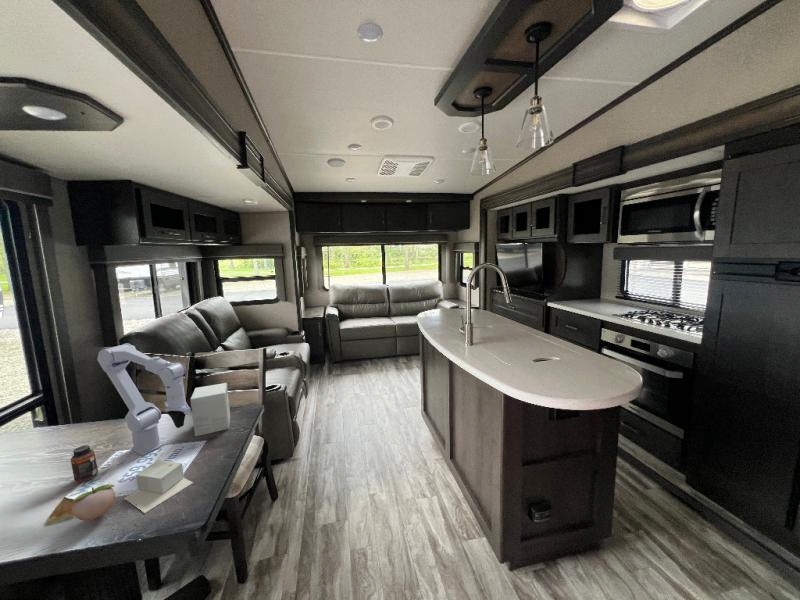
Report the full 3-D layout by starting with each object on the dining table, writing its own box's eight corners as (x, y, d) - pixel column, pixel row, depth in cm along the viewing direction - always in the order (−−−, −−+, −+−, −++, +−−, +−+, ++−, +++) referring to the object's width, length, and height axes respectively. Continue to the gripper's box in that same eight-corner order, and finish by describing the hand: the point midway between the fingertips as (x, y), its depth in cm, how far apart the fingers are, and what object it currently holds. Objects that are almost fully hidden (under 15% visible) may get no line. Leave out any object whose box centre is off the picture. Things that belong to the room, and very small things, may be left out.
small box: (137, 490, 103) (162, 494, 101) (134, 474, 102) (160, 479, 100) (160, 473, 111) (184, 477, 108) (158, 459, 110) (182, 462, 108)
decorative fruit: (81, 536, 86) (75, 504, 85) (71, 524, 90) (65, 493, 89) (124, 511, 94) (119, 482, 93) (112, 501, 98) (108, 473, 97)
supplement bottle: (102, 473, 112) (97, 444, 110) (81, 485, 106) (75, 455, 105) (92, 470, 114) (87, 441, 112) (70, 481, 108) (65, 451, 106)
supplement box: (231, 415, 151) (227, 382, 149) (229, 429, 139) (225, 392, 137) (199, 422, 146) (194, 387, 143) (194, 437, 134) (189, 399, 131)
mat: (124, 499, 99) (124, 498, 99) (172, 472, 112) (171, 471, 112) (144, 513, 94) (144, 512, 94) (193, 483, 106) (192, 482, 106)
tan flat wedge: (64, 501, 100) (63, 496, 100) (95, 492, 103) (95, 487, 103) (45, 526, 90) (44, 521, 90) (80, 516, 94) (79, 511, 93)
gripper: (154, 395, 121) (158, 427, 123) (174, 402, 114) (179, 436, 116) (173, 388, 127) (177, 418, 129) (194, 394, 120) (198, 427, 122)
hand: (179, 426), depth 123 cm, fingers closed
